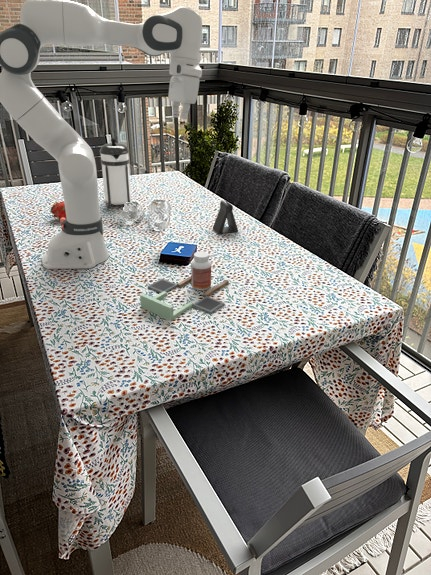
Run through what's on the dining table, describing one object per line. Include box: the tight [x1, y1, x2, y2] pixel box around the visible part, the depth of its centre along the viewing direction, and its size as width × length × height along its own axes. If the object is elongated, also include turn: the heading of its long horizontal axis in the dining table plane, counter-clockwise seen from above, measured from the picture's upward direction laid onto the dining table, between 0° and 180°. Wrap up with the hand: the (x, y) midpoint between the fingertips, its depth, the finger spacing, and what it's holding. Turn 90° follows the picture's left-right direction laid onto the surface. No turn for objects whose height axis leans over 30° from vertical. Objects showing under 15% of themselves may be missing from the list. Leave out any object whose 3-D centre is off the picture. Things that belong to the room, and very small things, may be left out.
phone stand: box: [212, 200, 239, 235], centre depth 181 cm, size 9×6×12 cm, turn 112°
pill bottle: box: [190, 251, 212, 291], centre depth 138 cm, size 6×6×11 cm
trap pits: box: [147, 278, 225, 315], centre depth 135 cm, size 7×25×1 cm, turn 54°
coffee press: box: [99, 137, 132, 209], centre depth 204 cm, size 17×16×30 cm
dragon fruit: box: [49, 200, 67, 221], centre depth 189 cm, size 8×8×12 cm
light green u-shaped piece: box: [139, 291, 194, 321], centre depth 128 cm, size 10×11×4 cm
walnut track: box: [176, 276, 230, 298], centre depth 141 cm, size 12×11×1 cm
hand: (179, 118), depth 141 cm, fingers open, 8 cm apart
